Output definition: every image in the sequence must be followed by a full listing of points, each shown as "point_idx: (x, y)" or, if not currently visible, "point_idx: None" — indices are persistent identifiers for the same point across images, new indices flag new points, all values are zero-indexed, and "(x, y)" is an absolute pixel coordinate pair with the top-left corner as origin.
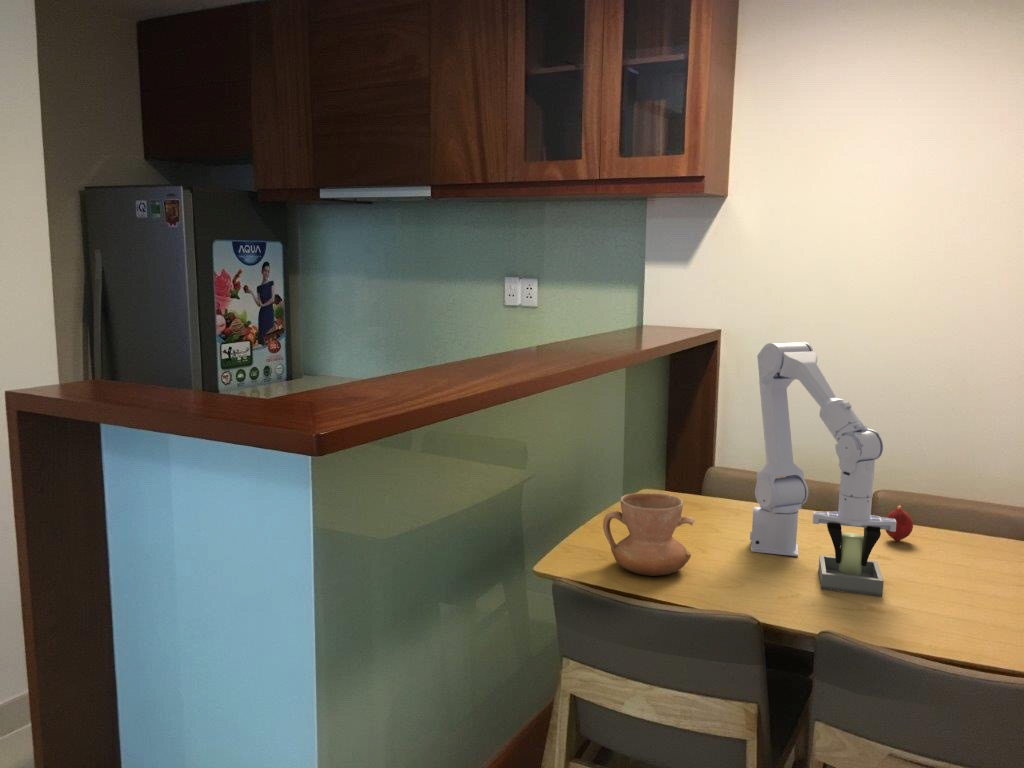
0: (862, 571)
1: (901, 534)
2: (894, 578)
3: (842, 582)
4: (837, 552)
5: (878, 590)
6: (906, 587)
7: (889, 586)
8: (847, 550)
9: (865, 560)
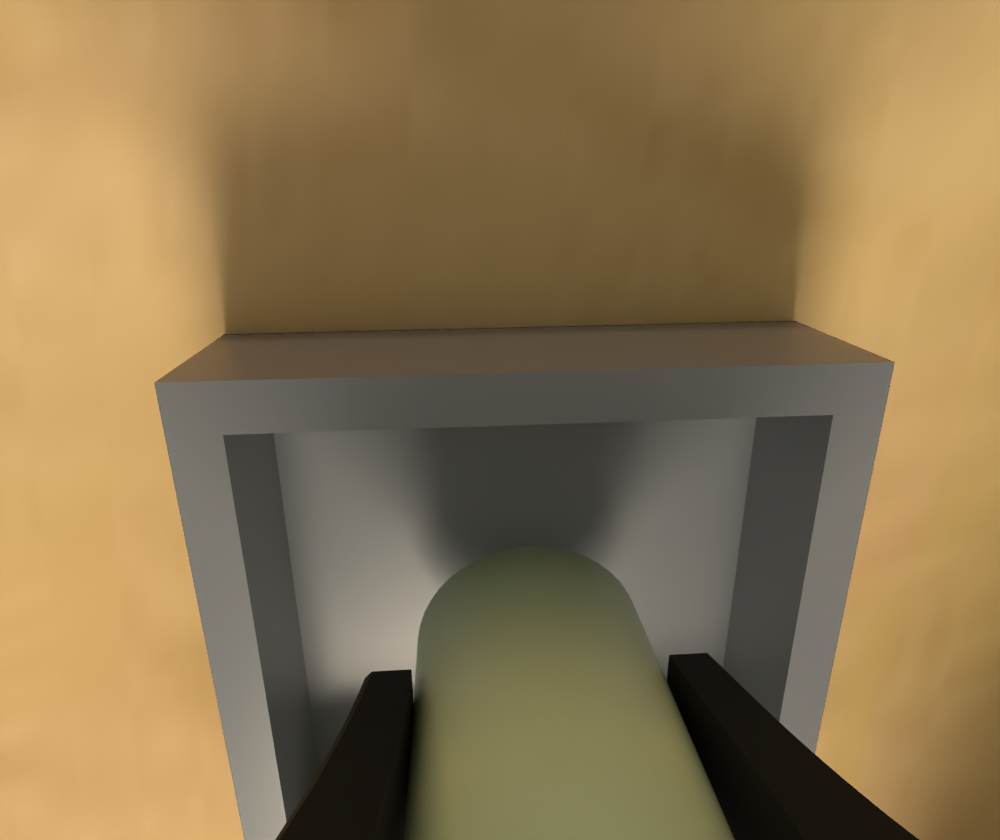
0: None
1: None
2: (147, 780)
3: (630, 351)
4: (780, 748)
5: (249, 345)
6: (31, 635)
7: (175, 606)
8: (663, 785)
9: (369, 717)
